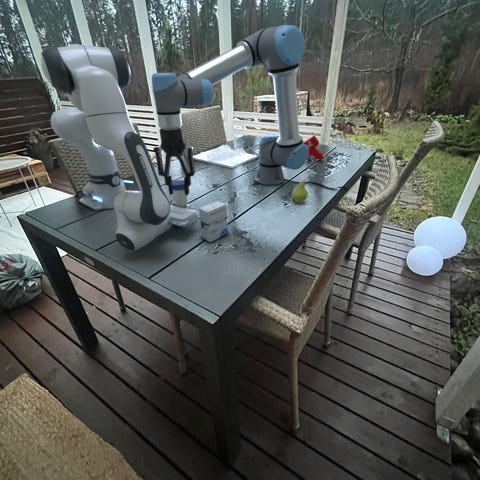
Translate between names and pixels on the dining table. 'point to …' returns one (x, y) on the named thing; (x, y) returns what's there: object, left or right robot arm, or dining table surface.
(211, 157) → the relief map
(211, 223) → the ink box
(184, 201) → the jar
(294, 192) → the fruit
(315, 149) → the toy gun
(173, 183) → the lid
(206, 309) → the dining table surface
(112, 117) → the left robot arm
